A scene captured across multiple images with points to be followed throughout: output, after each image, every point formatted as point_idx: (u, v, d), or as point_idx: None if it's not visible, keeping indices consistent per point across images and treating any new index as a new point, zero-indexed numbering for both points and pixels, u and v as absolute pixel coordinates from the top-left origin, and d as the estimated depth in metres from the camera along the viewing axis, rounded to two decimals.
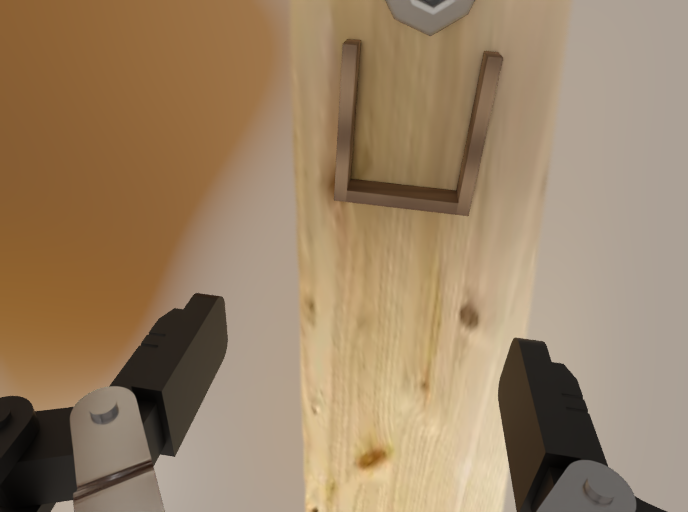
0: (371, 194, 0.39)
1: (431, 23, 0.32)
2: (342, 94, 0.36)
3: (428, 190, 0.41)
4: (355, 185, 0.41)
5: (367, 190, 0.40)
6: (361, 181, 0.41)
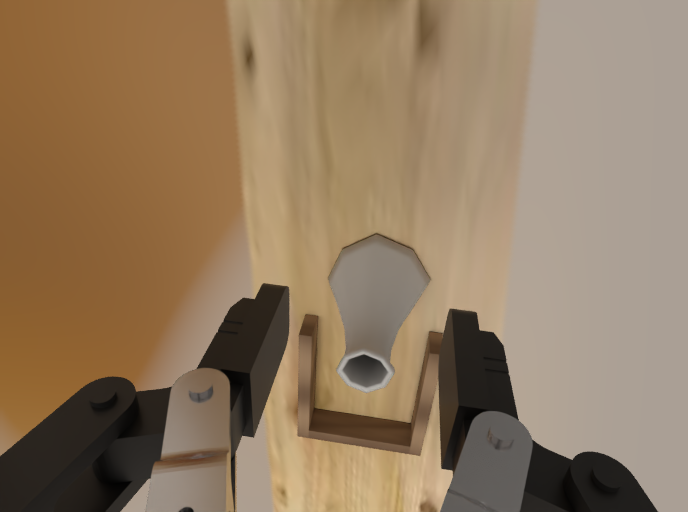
0: (330, 434, 0.43)
1: None
2: (300, 367, 0.39)
3: (384, 424, 0.44)
4: (317, 420, 0.44)
5: (328, 428, 0.43)
6: (323, 412, 0.45)
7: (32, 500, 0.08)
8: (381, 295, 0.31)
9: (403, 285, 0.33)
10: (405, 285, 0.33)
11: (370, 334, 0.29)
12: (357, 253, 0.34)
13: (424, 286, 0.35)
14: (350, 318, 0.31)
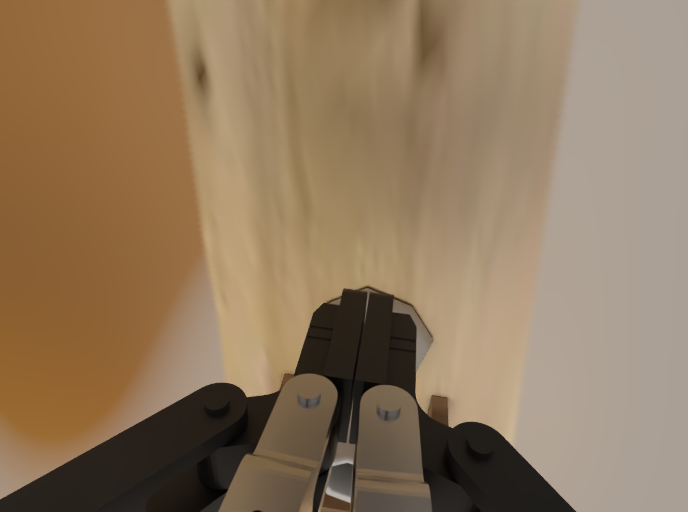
0: None
1: None
2: None
3: None
4: None
5: None
6: None
7: (128, 489, 0.08)
8: None
9: None
10: None
11: None
12: None
13: (426, 350, 0.29)
14: None
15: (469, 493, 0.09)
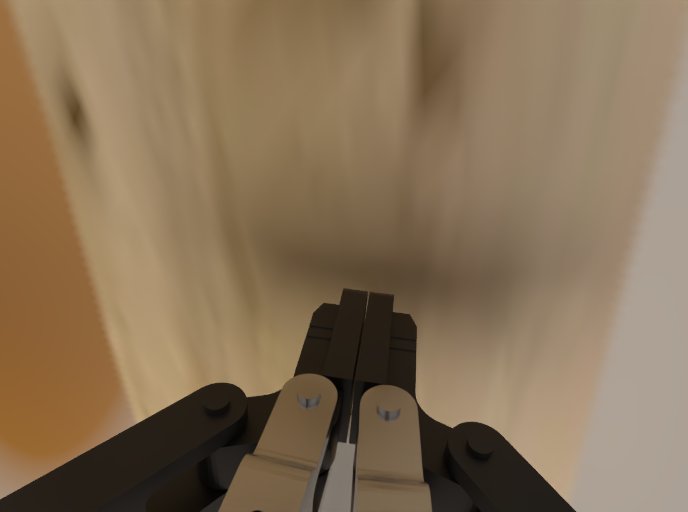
0: None
1: None
2: None
3: None
4: None
5: None
6: None
7: (128, 489, 0.08)
8: None
9: None
10: None
11: None
12: None
13: None
14: None
15: (469, 493, 0.09)
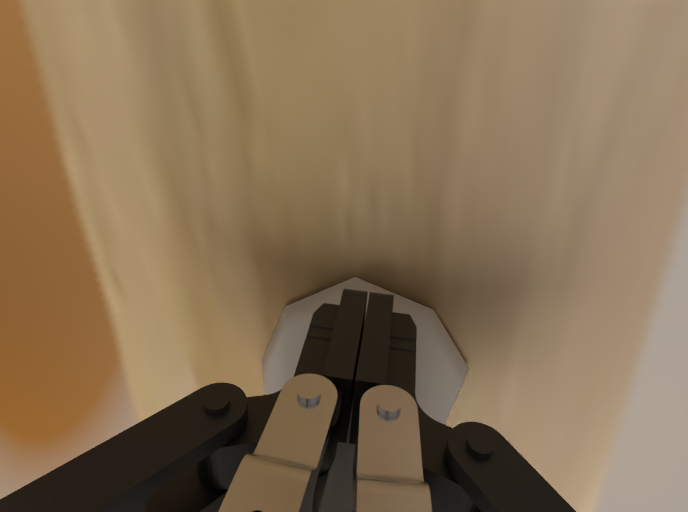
0: None
1: None
2: None
3: None
4: None
5: None
6: None
7: (128, 489, 0.08)
8: None
9: None
10: (418, 395, 0.15)
11: None
12: None
13: (458, 386, 0.16)
14: None
15: (469, 493, 0.09)
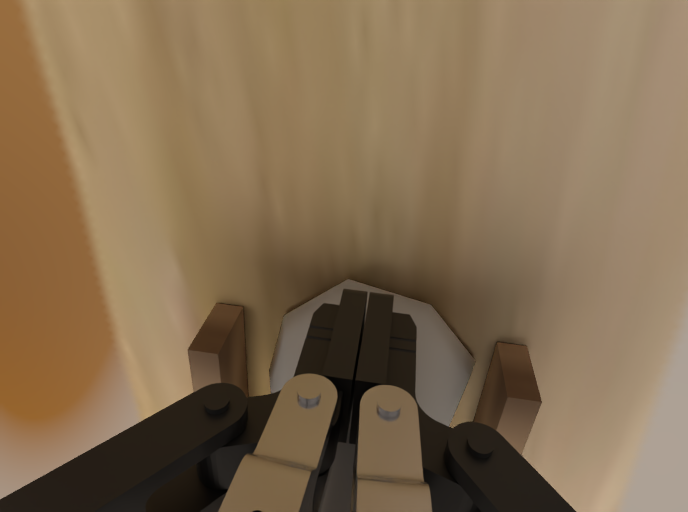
0: None
1: None
2: None
3: None
4: None
5: None
6: None
7: (128, 489, 0.08)
8: None
9: (417, 394, 0.14)
10: (420, 392, 0.14)
11: None
12: None
13: (464, 380, 0.16)
14: None
15: (469, 493, 0.09)
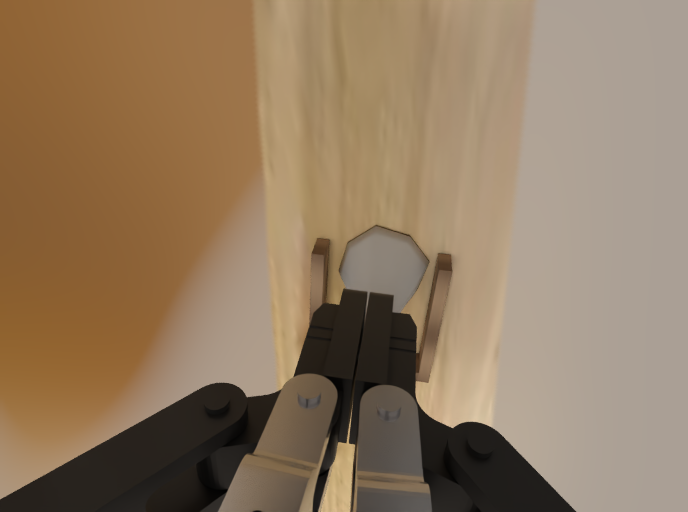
0: None
1: None
2: (312, 289, 0.40)
3: None
4: None
5: None
6: None
7: (128, 489, 0.08)
8: (383, 277, 0.36)
9: (403, 267, 0.37)
10: (405, 267, 0.37)
11: None
12: (360, 244, 0.39)
13: (423, 267, 0.39)
14: None
15: (469, 493, 0.09)
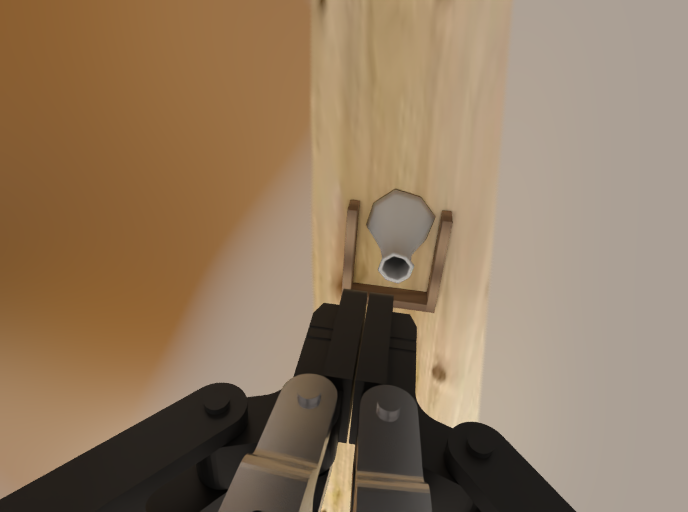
0: None
1: None
2: (347, 238, 0.53)
3: (407, 292, 0.58)
4: (356, 289, 0.58)
5: None
6: (360, 284, 0.59)
7: (128, 489, 0.08)
8: (402, 225, 0.49)
9: (416, 219, 0.50)
10: (417, 219, 0.50)
11: (396, 246, 0.47)
12: (384, 203, 0.52)
13: (431, 220, 0.52)
14: (383, 241, 0.49)
15: (469, 493, 0.09)
